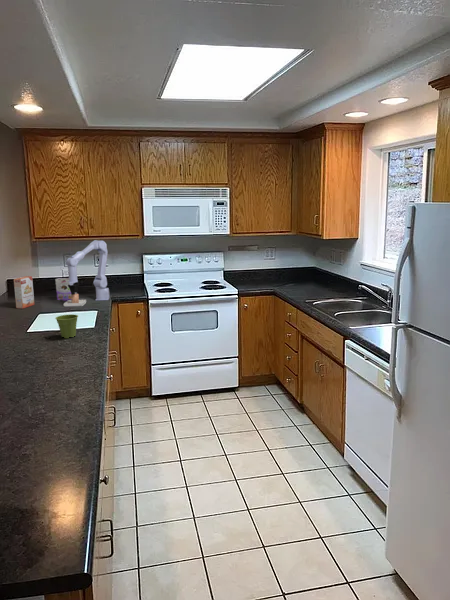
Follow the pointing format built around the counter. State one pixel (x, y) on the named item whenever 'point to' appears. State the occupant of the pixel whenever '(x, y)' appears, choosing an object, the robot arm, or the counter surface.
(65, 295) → the candy box
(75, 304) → the tray
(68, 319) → the plant pot
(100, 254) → the robot arm
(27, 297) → the cracker box
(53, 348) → the counter surface
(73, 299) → the peach small lump
